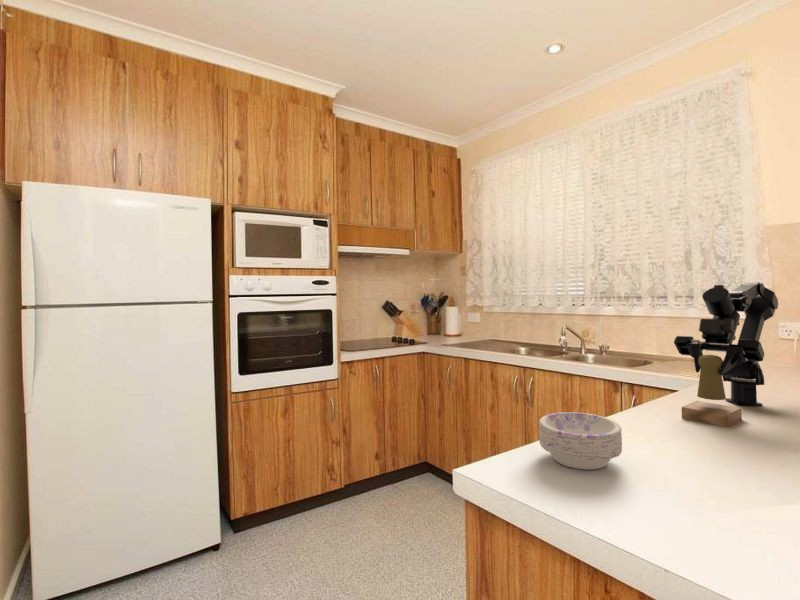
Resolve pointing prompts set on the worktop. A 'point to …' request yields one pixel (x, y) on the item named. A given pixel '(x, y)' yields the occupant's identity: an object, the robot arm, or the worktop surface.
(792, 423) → the worktop surface
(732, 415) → the base block
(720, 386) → the cork
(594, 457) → the paper bowls
